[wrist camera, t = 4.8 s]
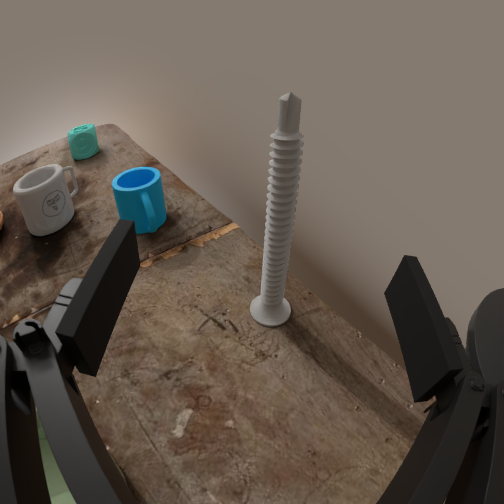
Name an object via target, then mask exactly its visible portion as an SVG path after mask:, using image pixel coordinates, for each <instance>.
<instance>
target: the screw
mask: <svg viewBox="0 0 504 504" xmlns="http://www.w3.org/2000/svg"><path fill="white" fill-rule="evenodd" d="M300 110H301V99H300V98H298V97H297V96H296V95H294V94H293V93H292V92H290V93H288V94H286V95H283V96H281V97H280V98H279V108H278V125H277V129H276V131H275V133H274V134H271V135H270V136H271V137H272V138H274V142H273V143H271V144H270V146H271V147H273V148H274V151H272V152H270V153H269V155H270V156H272V157H273V160H270V161H269V164H270V165H272V166H273V168H271V169H269V170H268V171H269V173H270V174H271V175H272V176H270V177H269V178H268V181H269V182H270V183H271V184H269V185H268V187H267V188H268V190H269V191H270V192H269V193H268V194H267V197H268V198H269V200H268V201H267V206H268V208H267V209H266V212H267V215H266V220H267V222H266V223H265V226H266V229H265V234H266V235H265V237H264V239H265V242H264V250H263V251H264V254H263V266H262V269H263V271H262V281H261V295H260V296H258V297H256V298H255V299H254V300H253V301H252V303H251V306H250V313H251V316H252V318H253V319H254V320H255V321H256V322H257V323H259V324H261V325H263V326H268V327H274V326H279V325H281V324H283V323H284V322H286V321H287V320H288V318H289V316H290V312H291V309H290V305H289V303H288V302H287V300H286V299H284V298H283V297H284V289H285V284H286V275H287V269H288V263H289V257H290V250H291V249H290V246H291V239H292V233H293V225H294V221H293V220H294V219H295V214H294V213H295V212H296V207H295V205H296V204H297V200H296V198H297V196H298V192H297V189H298V188H299V184H298V181H299V180H300V177H299V173H300V171H301V168H300V166H299V165H300V164H301V163H302V160H301V158H300V156H301V155H302V154H303V151H302V149H301V148H300V147H302V146H303V145H304V143H303V140H301V138H303V137H304V135H302V134H301V133H300V132H299V122H300Z"/></svg>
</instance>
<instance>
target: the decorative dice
mask: <svg viewBox="0 0 504 504" xmlns="http://www.w3.org/2000/svg"><path fill="white" fill-rule="evenodd" d="M68 140H69V146H70V150H71V154H72V157H73V159H75V160H83V159H87V158H89V157H92V156H94V155H95V154H97V153H98V151H99V147H98V142H97V136H96V131H95V126H94V125H93V124H85V125H81V126H78V127H76V128H74V129H72V130H70V131H69V133H68Z"/></svg>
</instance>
